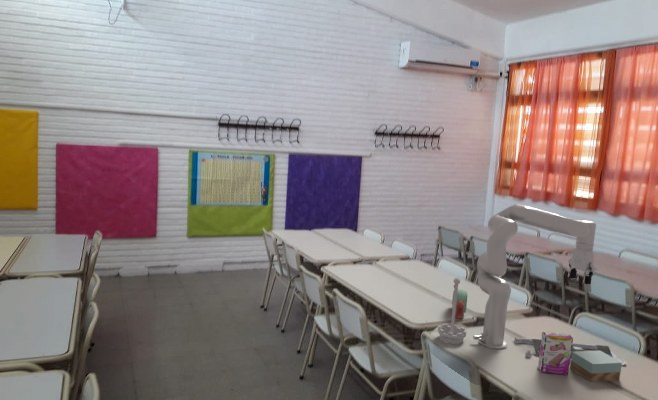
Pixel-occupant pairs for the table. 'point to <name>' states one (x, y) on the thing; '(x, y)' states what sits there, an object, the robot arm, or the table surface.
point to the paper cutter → (575, 348)
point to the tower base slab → (594, 374)
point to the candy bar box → (555, 353)
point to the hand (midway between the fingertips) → (579, 281)
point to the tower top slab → (596, 361)
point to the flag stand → (452, 324)
